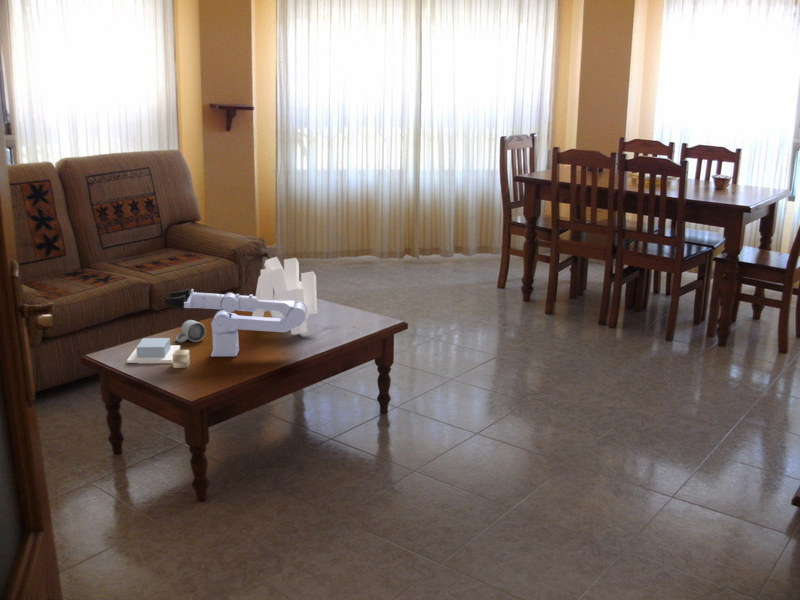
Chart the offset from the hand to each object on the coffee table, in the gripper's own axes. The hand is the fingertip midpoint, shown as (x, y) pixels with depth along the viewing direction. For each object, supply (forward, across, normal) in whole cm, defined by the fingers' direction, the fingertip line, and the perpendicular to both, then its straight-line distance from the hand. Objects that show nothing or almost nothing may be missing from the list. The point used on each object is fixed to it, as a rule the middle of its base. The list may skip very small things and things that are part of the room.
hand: (167, 298), depth 305 cm
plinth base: (+4, +2, +22) cm, 22 cm away
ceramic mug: (-6, -16, +21) cm, 27 cm away
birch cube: (-8, +12, +21) cm, 26 cm away
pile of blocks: (-42, -35, +19) cm, 58 cm away
